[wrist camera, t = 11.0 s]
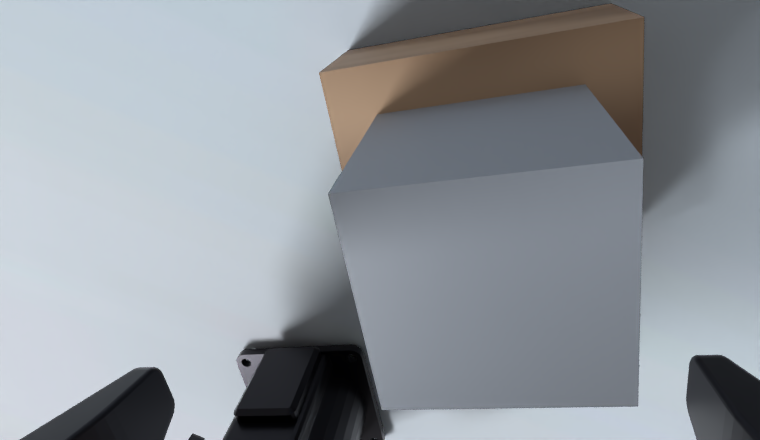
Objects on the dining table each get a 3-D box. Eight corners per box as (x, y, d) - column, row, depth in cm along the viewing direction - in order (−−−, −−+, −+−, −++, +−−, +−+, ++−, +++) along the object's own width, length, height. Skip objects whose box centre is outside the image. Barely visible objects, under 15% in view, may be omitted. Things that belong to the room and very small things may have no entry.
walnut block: (613, 243, 21) (639, 301, 18) (391, 261, 23) (376, 317, 20) (610, 3, 17) (644, 17, 14) (348, 50, 20) (319, 73, 16)
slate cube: (589, 267, 17) (638, 406, 12) (409, 280, 19) (381, 410, 14) (585, 84, 15) (643, 158, 10) (377, 114, 16) (328, 193, 11)
